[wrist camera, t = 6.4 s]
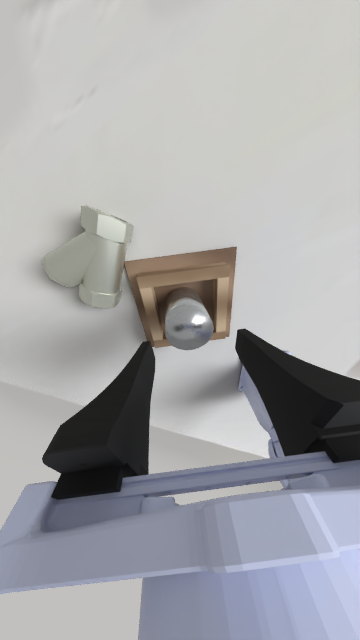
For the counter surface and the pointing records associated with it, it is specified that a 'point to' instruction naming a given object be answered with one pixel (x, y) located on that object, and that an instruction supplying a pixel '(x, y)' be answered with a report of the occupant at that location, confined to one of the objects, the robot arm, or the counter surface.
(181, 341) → the silver metal cylinder
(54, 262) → the pipe fitting
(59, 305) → the counter surface
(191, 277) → the cradle board
